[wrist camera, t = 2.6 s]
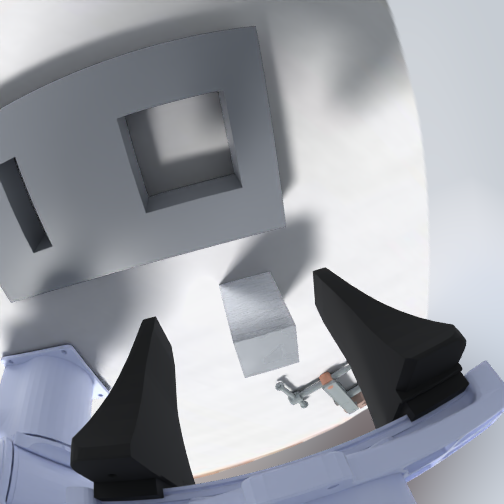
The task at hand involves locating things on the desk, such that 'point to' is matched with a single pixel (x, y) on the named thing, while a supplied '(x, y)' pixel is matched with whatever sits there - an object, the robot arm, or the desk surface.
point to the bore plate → (130, 165)
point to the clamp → (330, 392)
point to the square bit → (259, 324)
